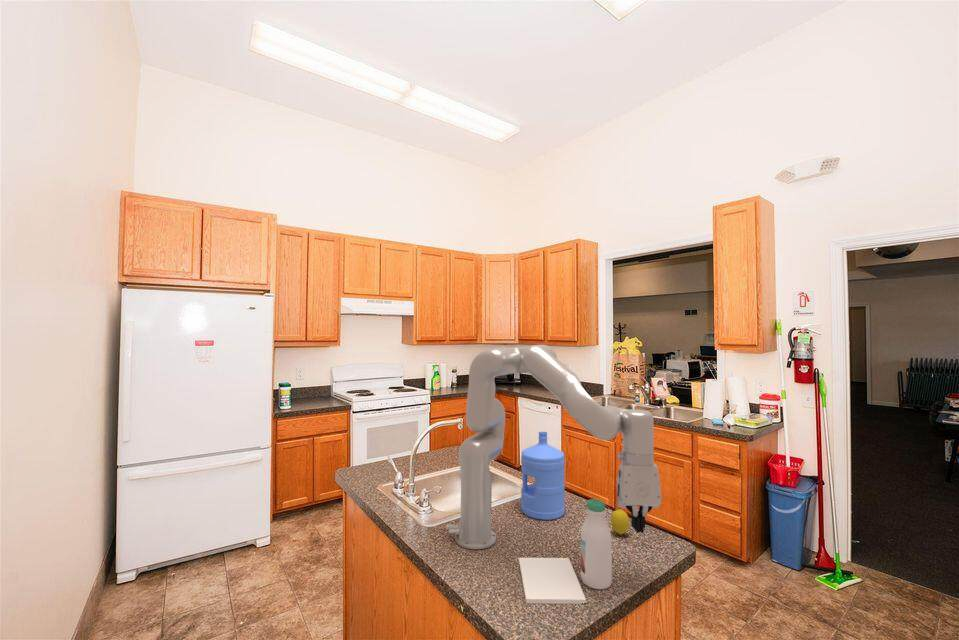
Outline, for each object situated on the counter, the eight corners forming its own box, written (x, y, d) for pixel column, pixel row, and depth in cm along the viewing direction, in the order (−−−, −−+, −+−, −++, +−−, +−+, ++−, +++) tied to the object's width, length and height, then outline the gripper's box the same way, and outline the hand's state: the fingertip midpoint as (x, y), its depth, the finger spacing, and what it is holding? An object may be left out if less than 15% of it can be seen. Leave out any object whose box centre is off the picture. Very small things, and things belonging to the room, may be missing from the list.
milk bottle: (616, 580, 105) (616, 501, 106) (603, 594, 99) (603, 510, 100) (589, 569, 110) (589, 493, 111) (575, 581, 104) (575, 502, 105)
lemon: (621, 529, 133) (621, 504, 133) (633, 537, 128) (633, 511, 128) (607, 532, 131) (607, 506, 131) (619, 540, 126) (619, 513, 126)
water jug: (563, 504, 153) (563, 428, 154) (566, 522, 137) (566, 438, 139) (521, 501, 155) (522, 427, 156) (519, 519, 140) (520, 436, 141)
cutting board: (526, 603, 95) (526, 599, 95) (518, 561, 113) (518, 557, 113) (585, 604, 95) (585, 599, 95) (568, 561, 113) (568, 558, 113)
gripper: (614, 462, 102) (614, 537, 101) (673, 463, 102) (674, 537, 101) (604, 453, 109) (604, 523, 109) (660, 454, 110) (660, 523, 109)
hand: (638, 530), depth 105 cm, fingers closed
